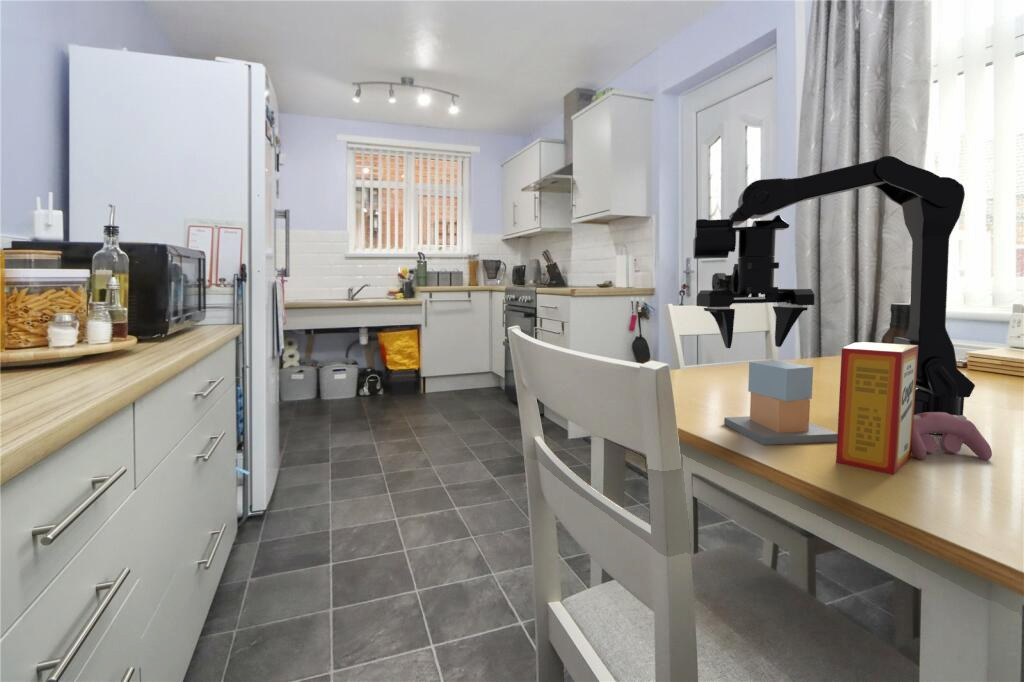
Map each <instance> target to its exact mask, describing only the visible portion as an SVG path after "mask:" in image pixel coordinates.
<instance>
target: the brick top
mask: <svg viewBox="0 0 1024 682" xmlns="http://www.w3.org/2000/svg"><path fill="white" fill-rule="evenodd" d="M813 378H814V366H809V365H805V364H804V365H803V364H797V363H792V362H786V361H782V360H781V361H780V360H776V359H775V360H774V359H771V360H756V361H748V385H747V386H748V390H747V392H749V393H751V392H752V393H756V394H760V395H764V396H768V397H771V398H775V399H779V400H783V401H794V400H804V399H810V400H811V399H812V398H813Z"/></svg>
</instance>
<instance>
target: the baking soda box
mask: <svg viewBox="0 0 1024 682" xmlns="http://www.w3.org/2000/svg"><path fill="white" fill-rule="evenodd" d="M840 357H841V359H840V375H839V377H840V378H839V395H838V396H839V398H838V399H839V400H838V417H837V418H838V419H837V433H838V434H837V442H836V454H835V455H836V456H835V463H836V464H841V465H844V466H845V465H846V466H850V467H856V468H860V469H864V470H870V471H873V472H879V473H884V474H888V475H896V473H898V471H899V470H901V468H902V467H904V465H905V464H906V463H907V462H908V461H910V459H911V458H912V454H911V450H912V435H913V420H914V405H915V390H916V389H917V388H916V375H917V359H918V345H905V344H888V343H881V342H871V341H870V342H867V341H861V342H857V341H856V342H853V343H851V344H848V345H846V346H843V347H842V348H841V356H840Z"/></svg>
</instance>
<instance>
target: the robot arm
mask: <svg viewBox="0 0 1024 682" xmlns="http://www.w3.org/2000/svg"><path fill="white" fill-rule="evenodd" d="M869 187H873V188H876V189H878V190H879V191H880V192H882V193H883V195H885V196H886V197H887V198H888V199H889V200H890V201H892V202H894V203H896V204H898V205H899V206H901V210H902V214H903V220H904V225H905V227H906V229H907V231H908V233H909V235H910V237H911V241H912V242H911V243H912V245H911V269H910V270H911V274H910V276H911V277H910V297H909V298H910V302H909V303H910V325H909V328H908V330H907V332H906V334H905V336H904V338H900V337H894V344H905V345H918V359H917V375H916V390H915V405H914V415H916V414H920V413H925V412H945V413H948V414H951V415H957V416H960V415H963V416H964V407H965V406H964V405H965V398H970V396H971V395H972V393H973V391H974V389H975V387H976V385H975V383H974V382H973V381H972V380H971V379H970V378H968V377H967V376H966V375H965V374H964V373H963V372H961V371H960V370H959V369H958V363H957V357H956V351H955V346H954V344H953V342H952V340H951V336H950V335H949V332H948V331H947V327H946V323H947V321H946V320H947V300H948V279H949V277H948V276H949V275H948V274H949V271H948V270H949V252H950V251H949V250H950V248H949V247H950V237H951V234H952V232H953V231H954V229H955V226H956V225H957V222H958V221H959V219H960V216H961V212H962V209H963V208H962V207H963V205H964V200H965V198H966V197H965V196H966V195H965V193H966V192H965V188H964V185H963V184H962V183H960V182H959V181H957V180H956V179H955V178H953V177H952V178H951V177H950V176H949V177H948V176H946V177H945V176H942V177H941V176H939V175H937V174H936V173H934V172H932V171H930V170H928V169H924V168H922V167H918V166H916V165H912V164H909V163H906V162H904V161H903V160H901V159H899V158H898V157H895V156H893V155H892V156H891V155H885V156H882V157H879V158H878V159H874V160H869V161H867V162H863V163H857V164H853V165H849V166H846V167H840V168H836V169H832V170H828V171H825V172H821V173H815V174H812V175H808V176H803V177H795V178H787V177H786V178H785V177H780V178H778V177H777V178H766V179H757V180H755V181H753V182H751V183H749V185H747V186H746V188H744V190H743V191H742V192H741V194H740V195H739V197H738V200H737V206H738V207H737V208H736V209H735V211H734V212H731V214H730V215H729V216H728V218H725V219H723V218H722V219H706V218H701V219H700V218H698V219H696V221H695V227H694V238H693V240H692V241H693V242H692V248H693V249H692V254H693V256H692V257H693V259H694V260H696V259H697V260H698V259H702V260H703V259H728V257H729V254H730V253H734V252H735V251H736V246H737V244H736V243H737V233H738V249H737V251H738V254H737V255H738V257H737V263H734V264H733V267H732V268H733V269H732V274H730V275H729V274H726V273H725V272H717V273H716V272H715V273H714V274H713V275H712V276H711V278H712V279H711V288H712V289H710V290H709V289H708V290H707V289H706V290H705V289H704V290H702V289H701V290H699V292H698V293H697V296H696V306H697V307H703V311H704V312H709V313H710V314H711V315H712V317H713V318H714V320H715V322H716V324H717V327H718V330H719V332H720V335H721V338H722V341H723V343H724V346H725V349H731V347H732V343H733V339H734V338H733V335H734V326H735V325H734V324H735V313H736V308H731V306H732V305H733V304H762V303H763V304H765V303H766V304H767V303H769V304H771V303H773V304H774V303H776V304H777V306H776V305H775V306H772V309H773V311H774V314H775V331H774V344H775V347H776V348H781V347H782V346H783V345H784V342H785V340H786V339H787V337H788V335H789V333H790V331H791V329H792V328H793V326H794V324H796V323H795V322H797V320H798V319H799V317H800V316H801V314H802V313H803V312H804V311H808V307H807V306H815V305H816V294H815V293H814V291H813V290H812V288H779V287H778V286H774V284H775V269H779V268H780V262H779V261H778V262H777V261H776V262H775V256H776V255H775V254H776V234H777V232H776V231H784V230H787V229H789V228H790V224H789V223H788V222H787V221H785V219H783V218H782V217H781V215H779V214H777V215H775V216H774V217H773V218H772V219H767V220H766V219H763V220H758V219H761V218H763V217H766V216H768V215H771V214H774V213H777V212H779V211H781V210H783V209H786V208H788V207H790V206H793V205H795V204H798V203H802V202H806V201H809V200H810V201H811V200H814V199H815V200H816V199H819V198H823V197H828V196H832V195H837V194H841V193H845V192H852V191H854V190H859V189H863V188H869ZM749 219H751V220H753V222H752V223H751V225H750V226H740V225H742V224H743V223H744V222H746V221H748V220H749ZM756 219H757V220H756ZM739 226H740V227H739ZM759 295H764V296H759ZM804 306H805V307H804ZM932 434H933V435H940V434H939V433H932Z"/></svg>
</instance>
